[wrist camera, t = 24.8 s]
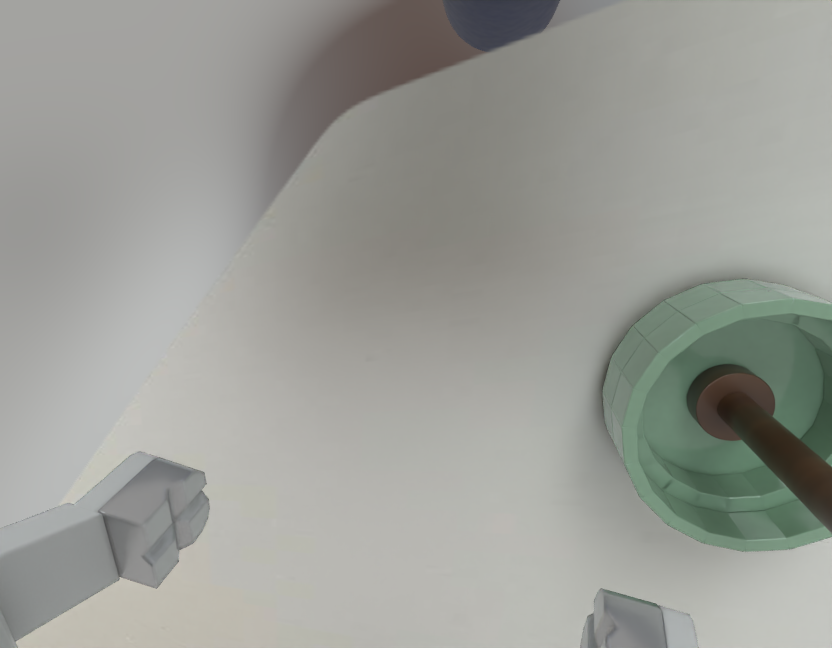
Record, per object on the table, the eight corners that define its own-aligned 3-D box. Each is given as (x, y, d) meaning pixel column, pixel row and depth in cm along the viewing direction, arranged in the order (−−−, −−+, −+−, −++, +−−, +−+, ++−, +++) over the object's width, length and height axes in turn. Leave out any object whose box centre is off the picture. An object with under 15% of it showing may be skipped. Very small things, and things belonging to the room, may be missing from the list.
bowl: (591, 294, 33) (613, 319, 27) (852, 261, 31) (936, 280, 25) (608, 498, 37) (631, 557, 31) (842, 482, 34) (914, 544, 29)
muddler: (685, 368, 33) (870, 549, 17) (762, 359, 32) (1031, 542, 16) (687, 432, 34) (863, 658, 18) (762, 425, 33) (1014, 656, 17)
